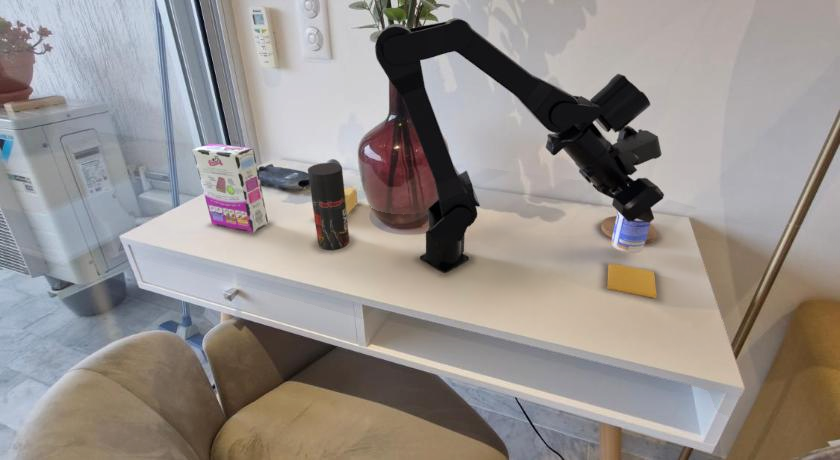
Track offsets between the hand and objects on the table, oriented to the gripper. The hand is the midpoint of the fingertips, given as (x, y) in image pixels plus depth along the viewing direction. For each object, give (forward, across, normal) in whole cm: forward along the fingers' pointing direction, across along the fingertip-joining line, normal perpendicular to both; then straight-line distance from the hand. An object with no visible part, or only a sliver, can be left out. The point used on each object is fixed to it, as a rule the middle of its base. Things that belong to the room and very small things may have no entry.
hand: (642, 212), depth 75 cm
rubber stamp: (-33, +21, +46) cm, 60 cm away
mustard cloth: (+3, -8, +9) cm, 12 cm away
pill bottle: (+4, 0, +6) cm, 7 cm away
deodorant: (-32, +8, +45) cm, 56 cm away
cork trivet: (+8, +8, +4) cm, 12 cm away
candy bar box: (-47, +16, +60) cm, 78 cm away
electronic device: (-44, +38, +57) cm, 81 cm away
